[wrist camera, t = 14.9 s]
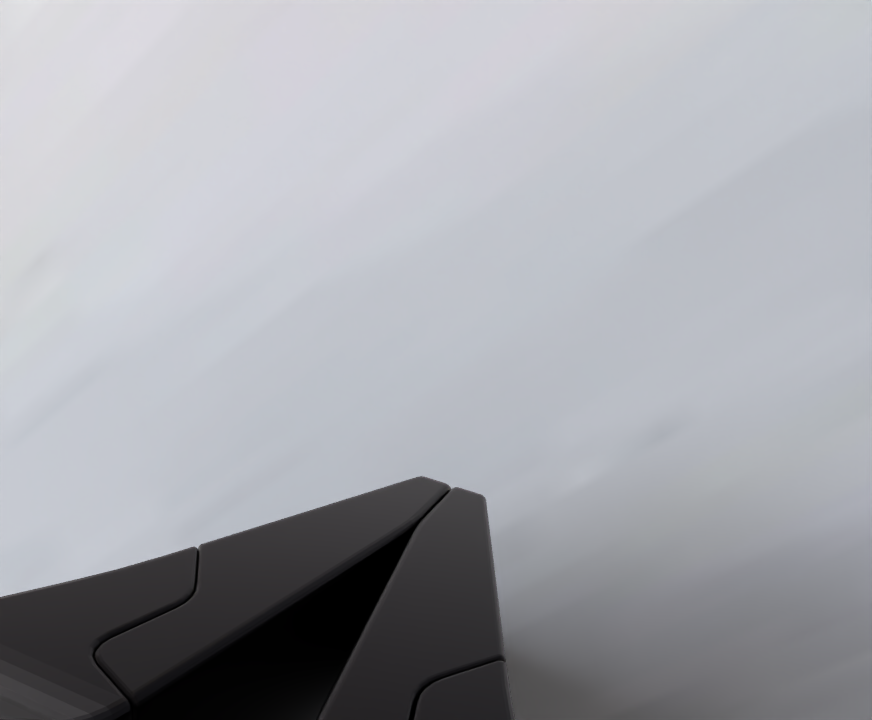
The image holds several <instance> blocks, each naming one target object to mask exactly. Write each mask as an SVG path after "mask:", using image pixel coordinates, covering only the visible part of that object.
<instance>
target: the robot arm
mask: <svg viewBox="0 0 872 720" xmlns="http://www.w3.org/2000/svg"><path fill="white" fill-rule="evenodd" d="M505 662H506V658H505V650H504V642H503V634H502V626H501V618H500V610H499V602H498V594H497V586H496V577H495V569H494V561H493V553H492V545H491V537H490V529H489V521H488V513H487V505H486V499H485V497H484V496H483V495H481V494H478V493H474V492H471V491H468V490H465V489H462V488H458V487H455V488H453V489H451V487H450V486H449V485H447V484H446V483H443V482H439V481H436V480H433V479H430V478H427V477H422V476H420V477H416V478H412V479H409V480H406V481H403V482H400V483H396V484H393V485H390V486H387V487H384V488H380V489H377V490H374V491H371V492H368V493H364V494H361V495H358V496H355V497H352V498H348V499H345V500H342V501H339V502H336V503H332V504H329V505H326V506H323V507H320V508H316V509H313V510H310V511H307V512H304V513H300V514H297V515H294V516H291V517H288V518H284V519H281V520H278V521H275V522H271V523H268V524H265V525H262V526H259V527H255V528H252V529H249V530H246V531H243V532H239V533H236V534H233V535H230V536H226V537H223V538H220V539H217V540H214V541H210V542H207V543H204V544H201V545H200V546H199V547H198V549H197V548H196V547H191V548H188V549H184V550H181V551H178V552H175V553H172V554H168V555H165V556H162V557H158V558H155V559H151V560H148V561H144V562H141V563H138V564H134V565H131V566H127V567H124V568H120V569H117V570H113V571H109V572H105V573H101V574H97V575H92V576H88V577H84V578H80V579H76V580H72V581H68V582H64V583H59V584H55V585H51V586H46V587H42V588H38V589H33V590H29V591H25V592H20V593H16V594H12V595H7V596H3V597H0V720H515V717H514V711H513V705H512V700H511V694H510V687H509V679H508V671H507V665H506V663H505Z"/></svg>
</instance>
